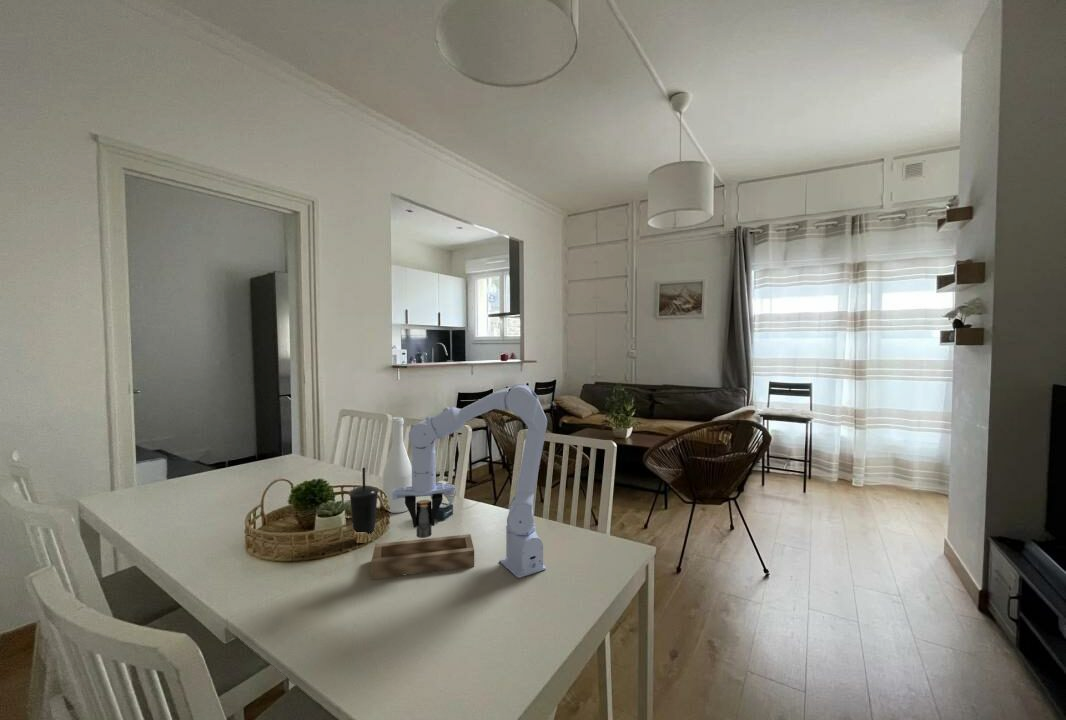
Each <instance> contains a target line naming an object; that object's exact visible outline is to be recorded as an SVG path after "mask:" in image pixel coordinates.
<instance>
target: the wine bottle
mask: <svg viewBox="0 0 1066 720" xmlns="http://www.w3.org/2000/svg"><path fill="white" fill-rule="evenodd" d="M404 424H405V421H404V418H403V417H402V416H395V417H392V420H391V425H392V440H391V441H392V444H391V447H390V451H389V453H388V456H387V460H386V463H385V465H384V469H383V472H382V493H383V492H384V493H385V495H386V496H387V500H388V503H389V507H390V512H391V513H390V514H398V513H405V512H407V511H409V510H408V508H407V507H406V504H405V498H398V499H395V500H393V489H400V488H405V487H411V486H412V462H411V461H410V458H409V456H408V452H407V449H406V446H405V442H404Z"/></svg>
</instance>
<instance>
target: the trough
mask: <svg viewBox="0 0 1066 720" xmlns="http://www.w3.org/2000/svg"><path fill="white" fill-rule="evenodd" d="M473 543H474V542H473V540H472V536H471V534H470V533H468V534H461V535H460V534H459V535H450V536H448V535H447V536H440V537H430V538H429V537H427V538H420V539H413V540H411V539H410V540H409V539H408V540H402V541H401V540H400V541H391V542H382V543H375V544H374V548H373V553H372V555H371V556H372V558H371V559H370V578H371V580H377V578H378V579H385V578H384V577H386V578H391V577H390V576H394V577H398V576H397V575H403V576H405V575H404V574H411V575H414V574H413V573H419V574H421V573H420V572H427V573H432V572H433V571H435V572H440V571H439V570H443V571H447V570H446V569H451V570H458V569H457V568H459V569H467V568H474V567H475V548H474V544H473Z"/></svg>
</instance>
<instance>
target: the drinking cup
mask: <svg viewBox="0 0 1066 720" xmlns="http://www.w3.org/2000/svg"><path fill="white" fill-rule="evenodd" d="M361 476H362V485H360V486H357V487H354V488H353V489H351V490H350V491H348V496H349V498H350V508H351V519H352V527H353V531H354V530H355V531H356V532H367V533H368V534H369V533H370V534H371V533H372V532H373V531H374V532H375V529H374V528H375V526H376V517H377V516H376V515H377V504H378V503H377V502H378V494H379V491H380V489H379V488H378V487H376V486H373V485H366V467H362V475H361Z"/></svg>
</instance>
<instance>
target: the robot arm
mask: <svg viewBox="0 0 1066 720" xmlns="http://www.w3.org/2000/svg"><path fill="white" fill-rule="evenodd" d="M494 409H495V410H499V411H505V412H506V410H507V409H508V410H509V411H511V412H512V413H513V414H515V415H516V416H517V417H520V418H521V420H522V421H523V423H524V424H525V425H526V427H527V431H526V436H525V442H524V445H523V446H524V447H523V453H522V458H521V463H520V467H519V469H520V470H519V473H518V474H519V475H518V478H517V479H518V480H517V485H516V490H515V495H514V497H513V498H512V499H511V501H510V503H509V507H508V509H509V511H508V515H507V517H506V526H505V527H506V530H505V531H506V532H505V533H506V535H505V536H506V537H505V539H506V540H505V541H506V544H505V545H506V547H505V549H506V554H505V555H506V556H505V557H502V558H499V562H500V563H501V564H502V565H503V566H504V567H505V569H506V568H507V570H508V571H509V572H510V573H512V574H513V576H515V577H516V578H518V579H521V578H524V577H526V576H529V575H532V574H536V573H539V572H541V571H544V570H546V569H547V566H546V565H545V564H544V544H543V541H542V539H541V538H540V537H539V536H538V534H537V528H536V523H534V511H535V504H534V497H535V491H536V486H537V480H538V475H539V471H540V470H539V469H540V465H541V461H542V460H541V459H542V453H543V448H544V443H545V437H546V432H547V427H548V418H547V416H546V414H545V412H544V408H543V407H542V404H541V402H540V400H539V397H538V394H536V392H535V391H534V390H533V389H532V388H531V387H530V386H529V385H527V384H526V383H525V384H524V383H517V384H515V385H513V386H512V387H510V386H508V387H506V388H503V389H500V390H497V391H494V392H492V393H490V394H488V395H486V396H484V397H482V398H481V399H478V400H476V401H475V402H474V401H473V402H472V403H471V404H468V405H466V406H464V407H463V408H459V407H455V406H451V407H450V406H446V407H444V408H442V412H439V413H437V414H435V415H432V416H431V415H428V416H425V418H424V420H420V421H419V422H417V423H416V424H414V425H413V426H412V427H411V428H410V430H409V432H408V441H409V443H410V444H411V466H412V486H411V487H405V488H400V489H393V500H395V499H398V498H405V504H406V507H407V508H408V510H407V511H408V512H409V515H410V517H411V521H412V525H413V528H415V529H416V527H417V522H416V503H417V500H416V499H417V497H431V496H432V499H431V509H432V516H431V518H432V519H431V526H432V527H434V526H435V523H436V520H435V518H436V515H437V512H438V509H439V507H440V505H441V503H443V496H444V495H445V494H450V495H454V488H455V485H454V484H452V485H441V484H436V483H437V481H436V480H437V475H436V474H437V470H436V469H437V467H436V465H437V463H436V461H437V458H436V454H437V451H436V440H440V439H443V438H445V437H446V436H449V435H451V434H453V433H455V432H458V431H459V430H462V429H463V428H464V427H465V424H466V421H469V420H471V419H473V418H476V417H478V416H480V415H483V414H486V413H487V412H490V411H492V410H494Z"/></svg>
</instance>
